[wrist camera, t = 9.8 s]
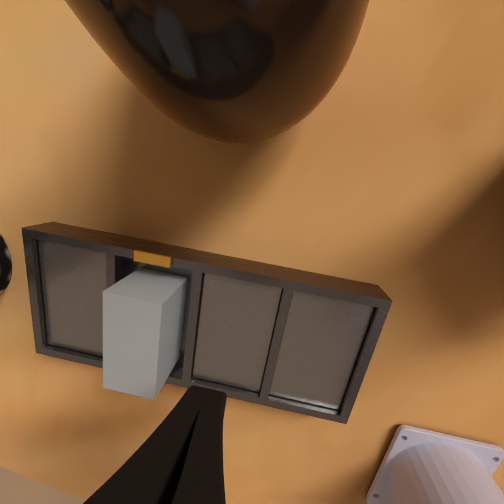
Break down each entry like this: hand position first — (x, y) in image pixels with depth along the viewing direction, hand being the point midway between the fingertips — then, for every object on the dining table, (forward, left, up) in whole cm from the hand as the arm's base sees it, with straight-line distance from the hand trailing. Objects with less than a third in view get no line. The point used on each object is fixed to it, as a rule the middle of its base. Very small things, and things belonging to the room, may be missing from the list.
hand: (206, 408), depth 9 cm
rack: (-2, +3, -10) cm, 10 cm away
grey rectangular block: (-3, +6, -9) cm, 11 cm away
